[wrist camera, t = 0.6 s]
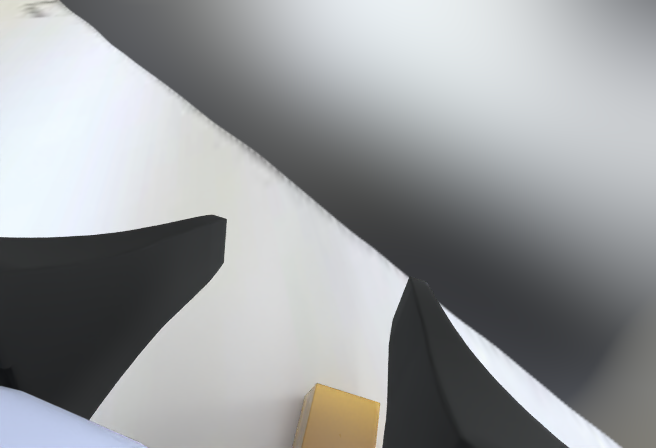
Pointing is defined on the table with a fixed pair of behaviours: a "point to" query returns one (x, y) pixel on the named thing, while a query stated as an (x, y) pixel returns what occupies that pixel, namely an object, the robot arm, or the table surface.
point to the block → (336, 420)
